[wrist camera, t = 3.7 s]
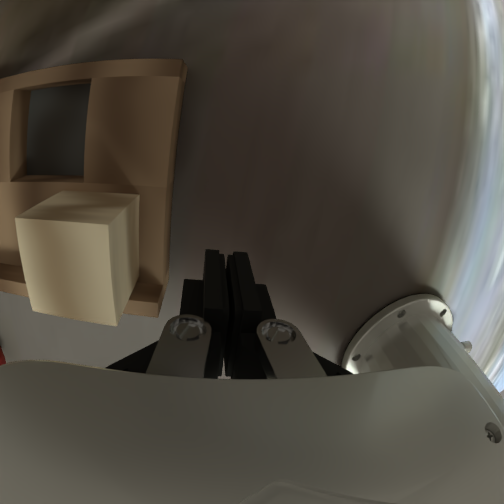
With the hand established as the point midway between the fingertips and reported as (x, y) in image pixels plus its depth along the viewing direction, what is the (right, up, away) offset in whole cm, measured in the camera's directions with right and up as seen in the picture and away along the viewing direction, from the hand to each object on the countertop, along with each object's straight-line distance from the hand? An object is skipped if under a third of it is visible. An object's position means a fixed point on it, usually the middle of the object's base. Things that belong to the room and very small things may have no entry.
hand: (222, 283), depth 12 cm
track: (-15, +7, +4) cm, 17 cm away
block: (-8, +2, +4) cm, 9 cm away
